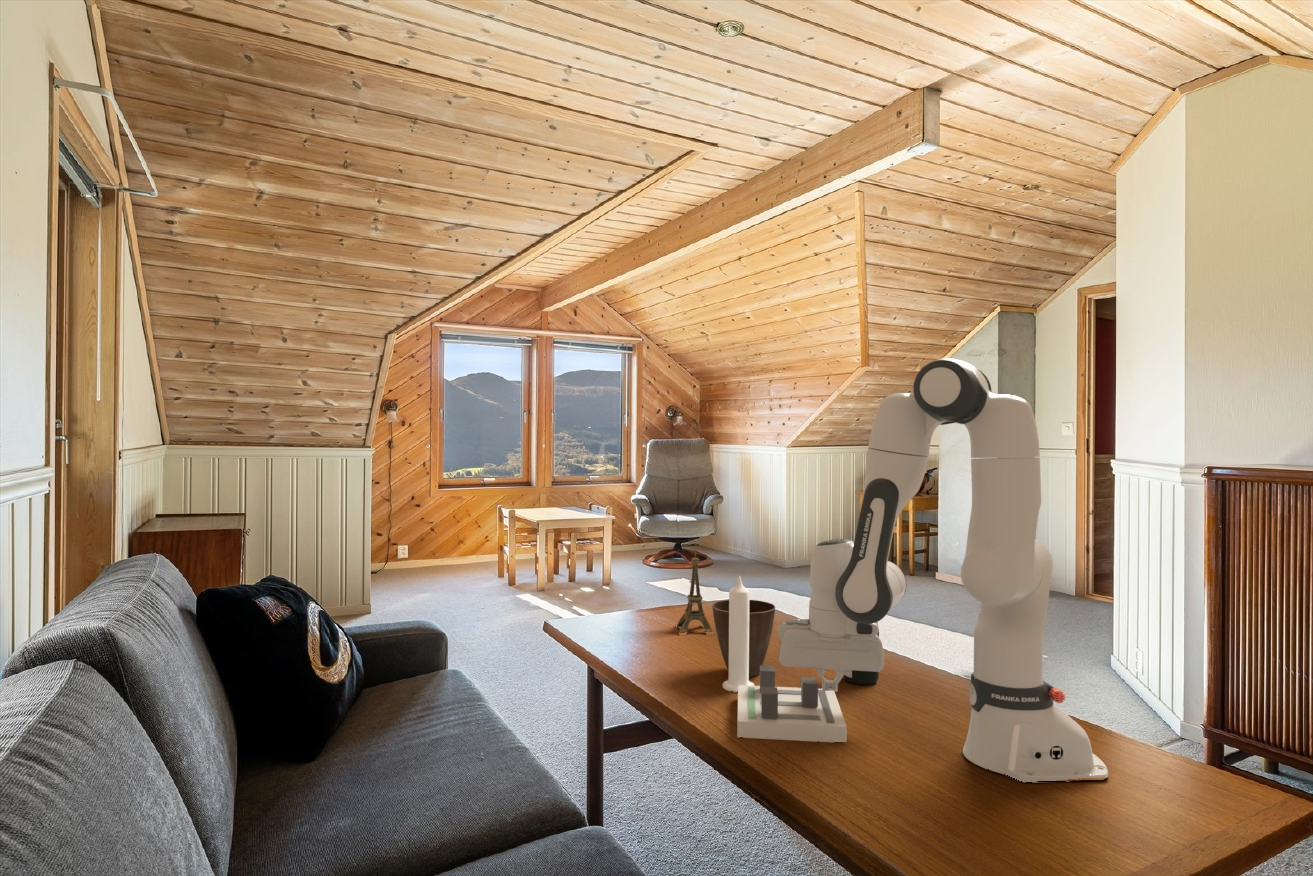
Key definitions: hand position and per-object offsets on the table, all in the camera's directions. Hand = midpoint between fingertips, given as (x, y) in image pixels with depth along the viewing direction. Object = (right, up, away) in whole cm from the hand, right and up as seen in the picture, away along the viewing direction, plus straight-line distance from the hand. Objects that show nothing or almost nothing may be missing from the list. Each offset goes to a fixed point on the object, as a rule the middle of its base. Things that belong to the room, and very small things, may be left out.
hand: (829, 690), depth 152 cm
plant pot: (-14, -6, +31) cm, 34 cm away
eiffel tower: (-23, -6, +70) cm, 74 cm away
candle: (-16, -6, +20) cm, 26 cm away
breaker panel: (-8, -6, +1) cm, 10 cm away
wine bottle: (+13, -6, +25) cm, 29 cm away
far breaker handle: (-11, -3, +8) cm, 14 cm away
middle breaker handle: (-4, -3, 0) cm, 5 cm away
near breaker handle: (-13, -3, -6) cm, 14 cm away
